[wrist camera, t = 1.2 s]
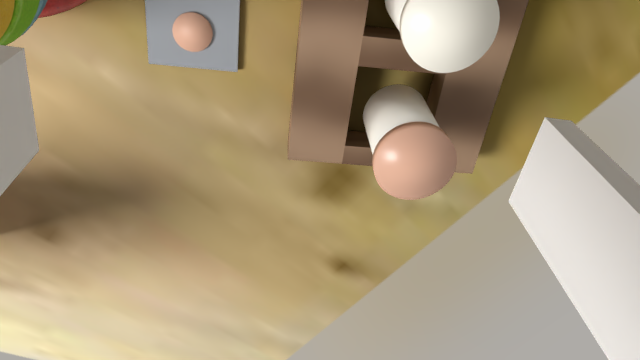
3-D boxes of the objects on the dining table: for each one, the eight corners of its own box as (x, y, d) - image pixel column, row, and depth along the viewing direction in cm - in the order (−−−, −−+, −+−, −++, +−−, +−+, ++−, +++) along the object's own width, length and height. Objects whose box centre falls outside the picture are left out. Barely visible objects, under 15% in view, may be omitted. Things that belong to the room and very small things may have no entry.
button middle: (389, -54, 29) (414, -31, 24) (469, -44, 30) (512, -19, 24) (375, 29, 32) (393, 68, 26) (449, 37, 32) (483, 77, 27)
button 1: (366, 78, 34) (382, 124, 28) (436, 85, 34) (466, 131, 28) (355, 142, 36) (367, 196, 30) (420, 147, 37) (445, 202, 31)
